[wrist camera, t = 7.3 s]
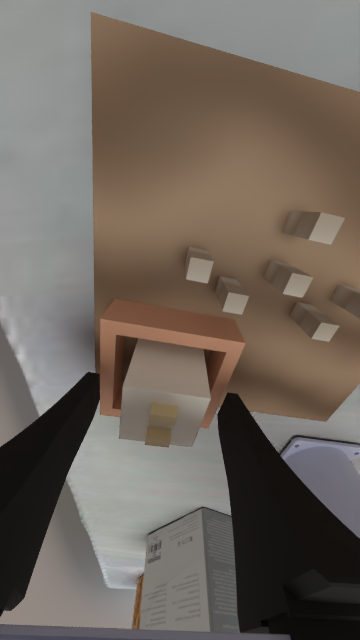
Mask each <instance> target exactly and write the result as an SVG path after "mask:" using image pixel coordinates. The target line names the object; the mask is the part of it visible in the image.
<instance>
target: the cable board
mask: <svg viewBox="0 0 360 640" xmlns="http://www.w3.org/2000/svg"><path fill="white" fill-rule="evenodd" d="M91 61H92V139H93V217H94V294H95V372H96V373H98V374H100V318H101V317H102V316H103V314H104V313H105V311H106V310H107V309H108V307H109V306H110V304H111V303H112V302H113V300H114V299H120V300H125V301H131V302H137V303H142V304H148V305H153V306H159V307H165V308H170V309H176V310H182V311H187V312H193V313H198V314H204V315H210V316H215V317H221V318H226V319H232V320H235V321H236V323H237V326H238V328H239V330H240V332H241V334H242V336H243V339H244V341H245V343H246V344H245V346H244V348H243V350H242V353H241V355H240V357H239V360H238V362H237V364H236V366H235V369H234V371H233V373H232V376H231V378H230V380H229V382H228V385H227V387H226V389H225V392H224V394H223V396H222V399H221V401H220V403H219V405H218V407H221V406H222V404H223V401H224V399H225V397H226V395H227V392H229V393H236V394H238V395H239V396H240V398H241V399H242V401H243V403H244V404H245V406H246V407H247V409H248V411H252V412H259V413H267V414H274V415H281V416H288V417H296V418H303V419H310V420H318V421H325V422H326V421H327V420H328V419H329V418H330V416H331V415H332V414H333V413H334V412H335V411H336V410H337V408H338V407H339V406H340V405H341V404H342V403H343V402H344V401H345V399H346V398H347V397H348V396H349V395H350V394H351V393H352V391H353V390H354V389H355V388H356V387H357V386H358V385H359V384H360V92H357V91H354V90H350V89H347V88H344V87H340V86H337V85H334V84H330V83H327V82H324V81H320V80H317V79H314V78H310V77H307V76H304V75H300V74H297V73H293V72H290V71H287V70H283V69H280V68H277V67H273V66H270V65H267V64H263V63H260V62H257V61H253V60H250V59H247V58H243V57H240V56H237V55H233V54H230V53H226V52H223V51H220V50H216V49H213V48H210V47H206V46H203V45H200V44H196V43H193V42H190V41H186V40H183V39H180V38H176V37H173V36H169V35H166V34H163V33H159V32H156V31H153V30H149V29H146V28H143V27H139V26H136V25H133V24H129V23H126V22H123V21H119V20H116V19H112V18H109V17H106V16H102V15H99V14H96V13H92V12H91ZM137 341H138V338H134V337H128V336H125V347H124V360H123V373H122V380H124V381H125V378H126V375H127V372H128V369H129V366H130V363H131V359H132V356H133V353H134V350H135V347H136V344H137ZM203 350H204V356H205V363H206V366H207V363H208V360H209V357H210V354H211V351H212V350H208V349H203Z"/></svg>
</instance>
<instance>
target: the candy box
mask: <svg viewBox="0 0 360 640" xmlns="http://www.w3.org/2000/svg"><path fill="white" fill-rule="evenodd" d="M143 582H144V574H143V576H142V577H141V578H140V579H139V580H138V581H137V589H136V597H135V605H134V613H133V621H132V629H139V627H140V616H141V604H142V593H143Z"/></svg>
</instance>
